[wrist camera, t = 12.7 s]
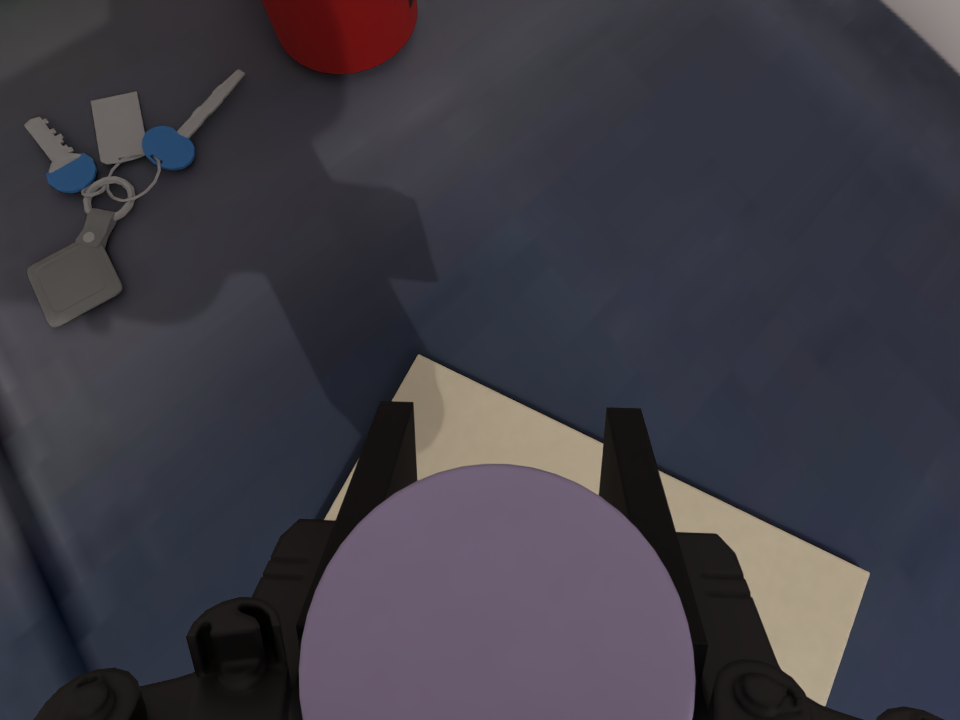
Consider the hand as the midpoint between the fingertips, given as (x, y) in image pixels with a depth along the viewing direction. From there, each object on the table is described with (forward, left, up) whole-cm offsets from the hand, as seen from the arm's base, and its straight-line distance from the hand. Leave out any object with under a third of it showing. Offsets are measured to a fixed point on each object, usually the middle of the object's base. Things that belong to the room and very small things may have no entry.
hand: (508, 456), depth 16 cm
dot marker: (-2, +3, -3) cm, 5 cm away
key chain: (+23, -5, -10) cm, 25 cm away
